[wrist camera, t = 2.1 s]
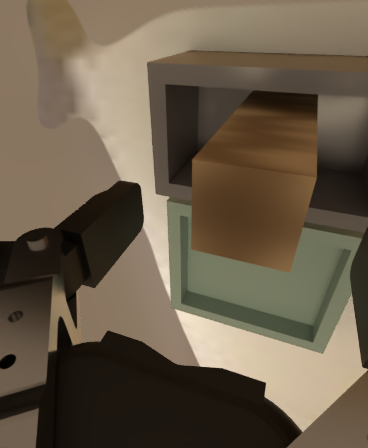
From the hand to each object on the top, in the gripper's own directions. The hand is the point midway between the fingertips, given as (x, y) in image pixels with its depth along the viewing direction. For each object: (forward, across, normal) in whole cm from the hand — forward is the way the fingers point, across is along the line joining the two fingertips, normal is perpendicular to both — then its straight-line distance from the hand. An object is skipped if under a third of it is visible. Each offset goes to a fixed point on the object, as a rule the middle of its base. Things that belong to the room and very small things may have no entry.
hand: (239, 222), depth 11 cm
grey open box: (+14, 0, 0) cm, 14 cm away
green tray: (+14, 0, +14) cm, 20 cm away
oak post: (+13, 0, 0) cm, 13 cm away
